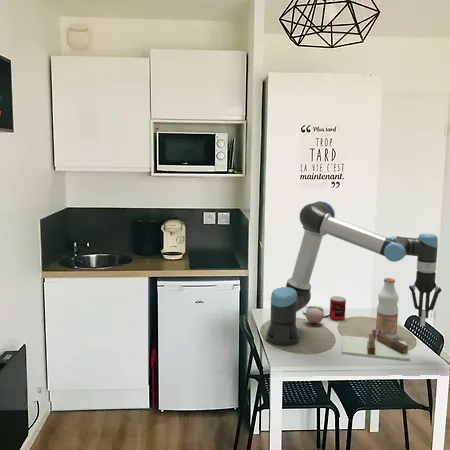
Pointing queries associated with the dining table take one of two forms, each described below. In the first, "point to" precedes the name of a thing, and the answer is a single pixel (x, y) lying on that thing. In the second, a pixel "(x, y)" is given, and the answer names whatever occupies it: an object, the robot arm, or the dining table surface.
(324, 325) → the dining table surface
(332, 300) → the canned food
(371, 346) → the tongs fixed
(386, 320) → the fruit juice
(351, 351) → the board
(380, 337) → the arm
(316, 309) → the decorative fruit
